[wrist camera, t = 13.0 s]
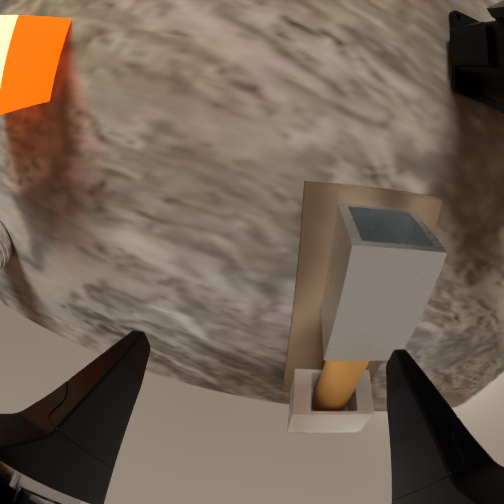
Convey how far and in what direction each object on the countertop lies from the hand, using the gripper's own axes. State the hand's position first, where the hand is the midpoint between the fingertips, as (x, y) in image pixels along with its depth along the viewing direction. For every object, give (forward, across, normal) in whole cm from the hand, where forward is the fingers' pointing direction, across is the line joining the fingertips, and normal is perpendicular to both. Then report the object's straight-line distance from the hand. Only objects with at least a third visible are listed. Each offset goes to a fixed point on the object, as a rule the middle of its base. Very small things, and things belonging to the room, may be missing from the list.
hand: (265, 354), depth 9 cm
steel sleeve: (+12, -6, +4) cm, 14 cm away
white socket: (+12, -6, +20) cm, 24 cm away
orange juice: (+12, +21, -16) cm, 29 cm away
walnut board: (+12, -6, +10) cm, 17 cm away
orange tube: (+10, -6, +13) cm, 18 cm away
